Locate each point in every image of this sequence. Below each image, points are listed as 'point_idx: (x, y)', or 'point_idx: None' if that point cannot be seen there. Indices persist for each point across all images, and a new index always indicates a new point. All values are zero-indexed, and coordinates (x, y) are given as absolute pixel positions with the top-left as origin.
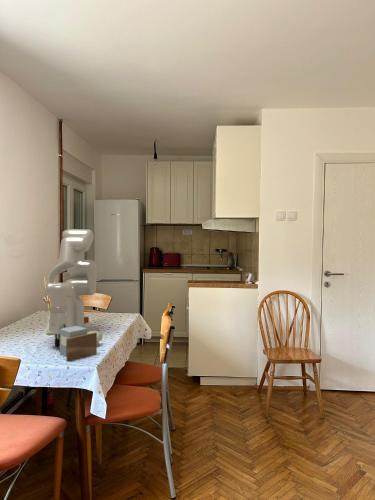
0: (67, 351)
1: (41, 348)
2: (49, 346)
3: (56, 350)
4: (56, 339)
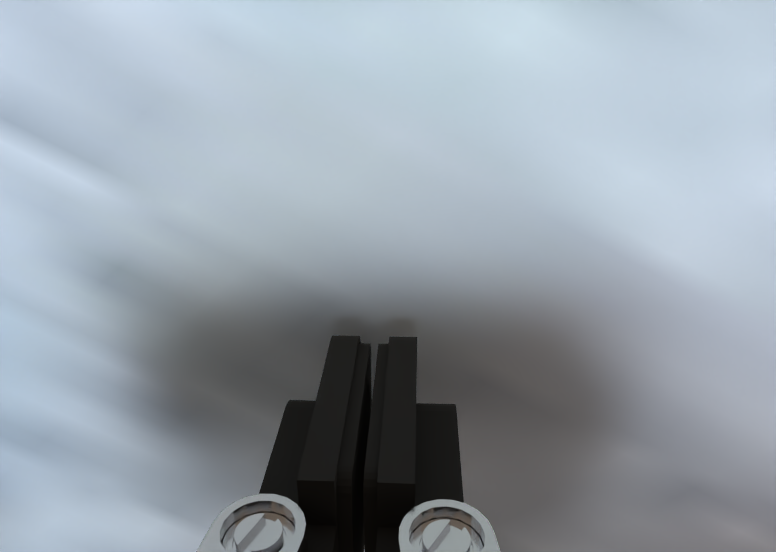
0: None
1: (732, 84)
2: (695, 313)
3: (237, 251)
4: (300, 477)
